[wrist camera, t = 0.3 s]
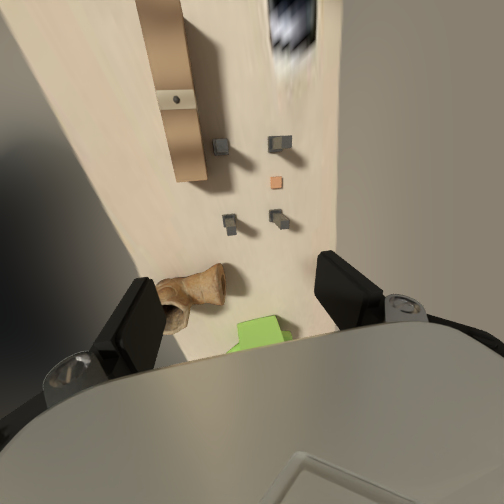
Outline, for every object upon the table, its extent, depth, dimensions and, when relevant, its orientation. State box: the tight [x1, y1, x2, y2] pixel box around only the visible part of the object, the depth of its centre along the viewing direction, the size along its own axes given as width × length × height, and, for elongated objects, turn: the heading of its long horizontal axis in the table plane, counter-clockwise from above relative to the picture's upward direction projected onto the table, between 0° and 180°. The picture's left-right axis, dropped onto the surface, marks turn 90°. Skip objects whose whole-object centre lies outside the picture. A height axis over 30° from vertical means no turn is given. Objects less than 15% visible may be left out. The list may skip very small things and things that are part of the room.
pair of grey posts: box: [222, 209, 289, 236], centre depth 37 cm, size 2×12×6 cm, turn 93°
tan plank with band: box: [135, 0, 208, 182], centre depth 28 cm, size 20×5×6 cm, turn 4°
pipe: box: [155, 263, 226, 335], centre depth 40 cm, size 9×16×10 cm, turn 104°
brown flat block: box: [271, 176, 282, 189], centre depth 37 cm, size 2×2×1 cm
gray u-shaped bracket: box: [213, 135, 292, 155], centre depth 31 cm, size 2×12×6 cm, turn 93°
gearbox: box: [227, 316, 292, 353], centre depth 51 cm, size 18×10×10 cm, turn 98°
